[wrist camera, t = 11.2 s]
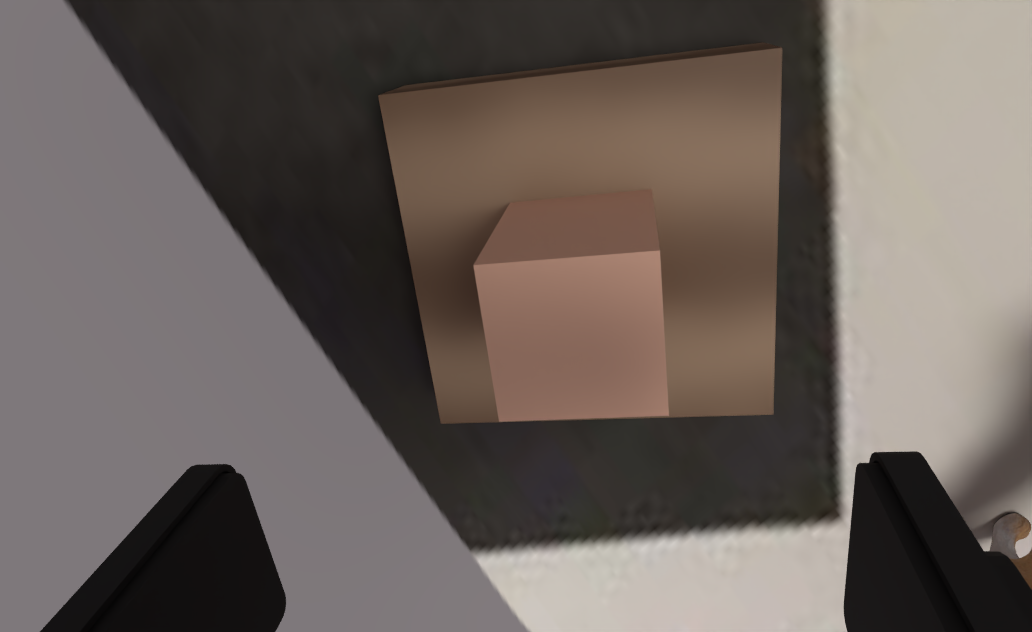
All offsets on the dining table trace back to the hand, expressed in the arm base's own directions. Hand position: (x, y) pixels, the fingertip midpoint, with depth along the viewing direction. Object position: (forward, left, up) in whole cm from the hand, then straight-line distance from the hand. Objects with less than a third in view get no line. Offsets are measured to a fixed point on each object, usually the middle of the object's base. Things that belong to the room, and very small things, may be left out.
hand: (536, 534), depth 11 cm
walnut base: (0, 0, -17) cm, 17 cm away
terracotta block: (0, 0, -14) cm, 14 cm away
